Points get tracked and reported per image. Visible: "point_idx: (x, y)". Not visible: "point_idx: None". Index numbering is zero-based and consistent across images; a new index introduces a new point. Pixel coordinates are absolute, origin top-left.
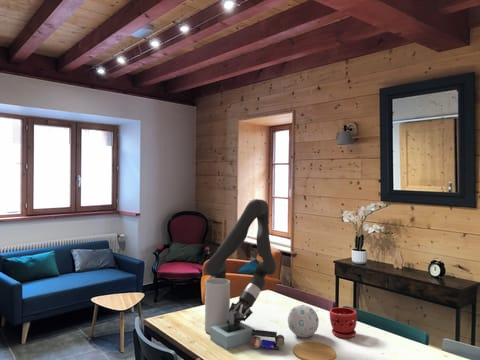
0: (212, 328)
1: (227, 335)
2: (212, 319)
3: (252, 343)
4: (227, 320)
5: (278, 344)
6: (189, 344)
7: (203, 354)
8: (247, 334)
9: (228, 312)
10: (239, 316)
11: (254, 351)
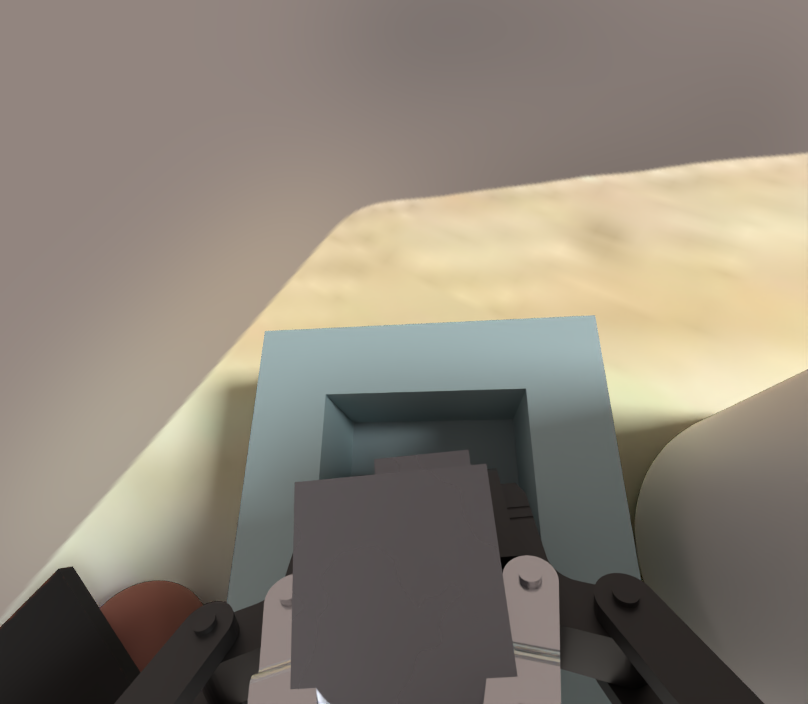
0: (546, 318)
1: (283, 352)
2: (768, 391)
3: (146, 582)
4: (519, 495)
5: None
6: (558, 205)
7: (356, 221)
8: None
9: (485, 467)
10: (273, 617)
11: (138, 559)
